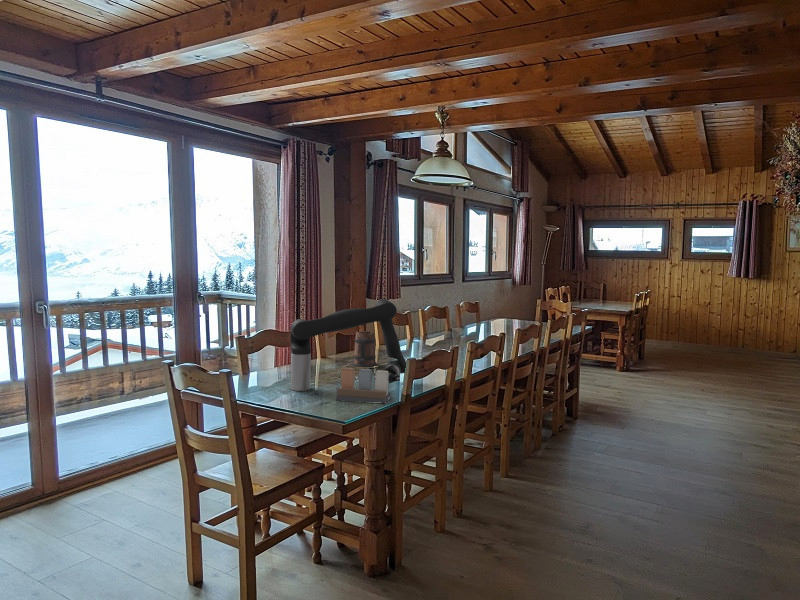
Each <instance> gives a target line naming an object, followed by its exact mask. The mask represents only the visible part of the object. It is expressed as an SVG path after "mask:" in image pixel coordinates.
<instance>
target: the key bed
mask: <svg viewBox="0 0 800 600" xmlns="http://www.w3.org/2000/svg"><path fill="white" fill-rule="evenodd" d="M335 396H336V397H335V400H336V401H338V400H343V401H342V402H351V401H361V402H360V403H363V402H381V403H385V402H386V401H387V400H388V398H389V397H390V398H391V392H388V395H387V396H386V391H377V390H375V389H371V390H363V389H359V388H354V389H349V388H341V387H337V389H336V395H335ZM390 398H389V399H390ZM388 401H389V400H388ZM388 401H387V402H388ZM387 402H386V403H387ZM386 403H385V404H386Z"/></svg>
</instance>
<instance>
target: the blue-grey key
mask: <svg viewBox="0 0 800 600" xmlns="http://www.w3.org/2000/svg"><path fill="white" fill-rule="evenodd" d="M358 370H359V371H358V389H363V390H372V385H373V384H372V380H373V378H372V376H373V375H372V374H373V370H372V369H358Z"/></svg>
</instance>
